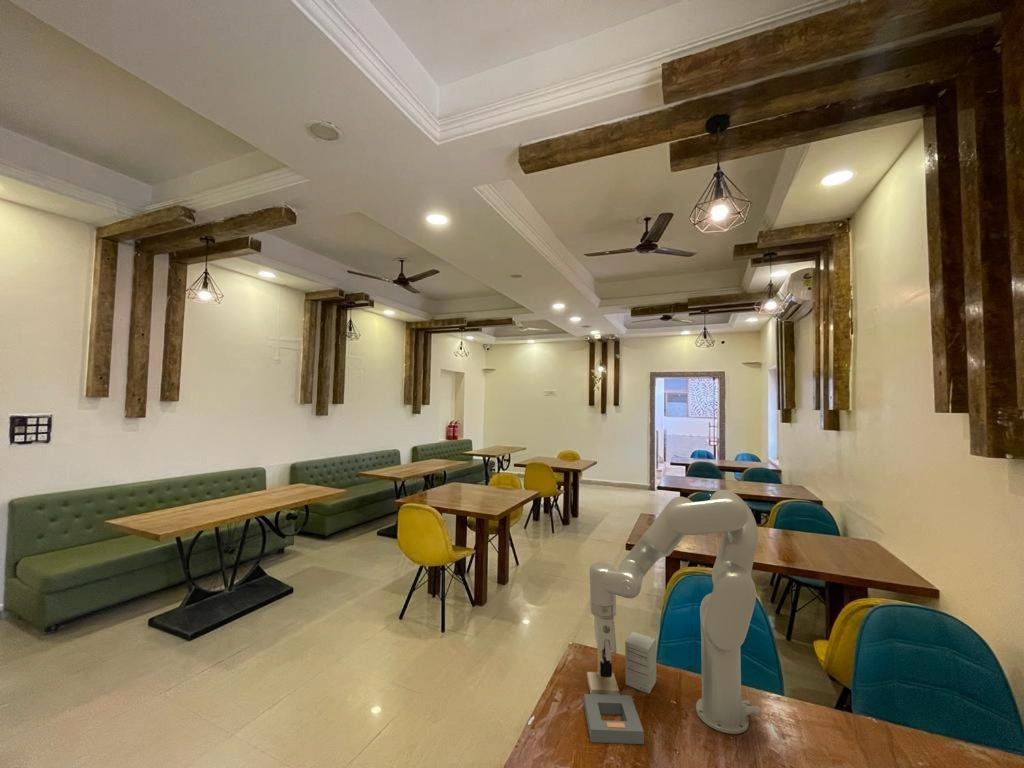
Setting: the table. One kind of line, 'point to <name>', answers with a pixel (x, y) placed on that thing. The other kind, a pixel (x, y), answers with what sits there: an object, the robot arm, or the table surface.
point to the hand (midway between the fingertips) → (604, 670)
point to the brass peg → (600, 661)
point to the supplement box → (640, 662)
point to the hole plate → (613, 730)
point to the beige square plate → (602, 684)
